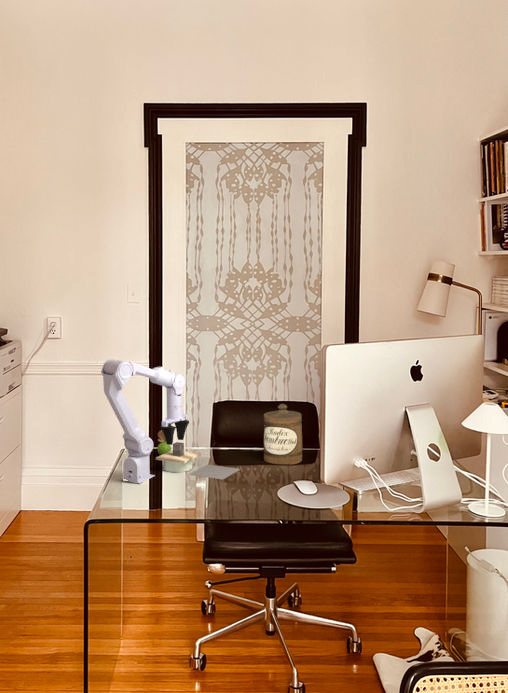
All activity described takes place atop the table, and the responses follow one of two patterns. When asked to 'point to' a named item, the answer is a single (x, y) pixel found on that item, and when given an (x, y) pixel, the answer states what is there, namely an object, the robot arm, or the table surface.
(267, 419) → the wooden container
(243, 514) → the table surface
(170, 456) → the lid
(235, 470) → the mat
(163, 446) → the snail figurine
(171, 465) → the bowl
